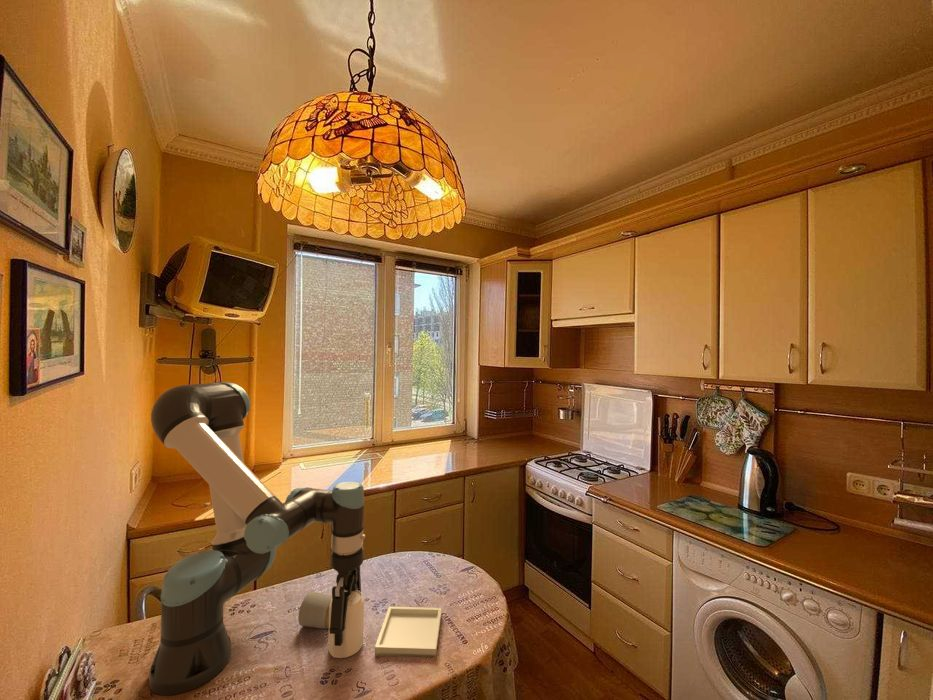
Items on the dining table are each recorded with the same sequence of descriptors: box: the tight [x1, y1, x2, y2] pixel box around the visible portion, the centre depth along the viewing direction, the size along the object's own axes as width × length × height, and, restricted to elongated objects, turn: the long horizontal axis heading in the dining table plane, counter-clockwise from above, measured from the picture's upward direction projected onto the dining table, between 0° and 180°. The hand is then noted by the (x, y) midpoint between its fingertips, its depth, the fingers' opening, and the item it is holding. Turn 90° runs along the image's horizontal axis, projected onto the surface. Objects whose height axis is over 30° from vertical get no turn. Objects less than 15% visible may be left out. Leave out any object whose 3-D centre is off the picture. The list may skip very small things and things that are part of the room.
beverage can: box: [327, 590, 365, 659], centre depth 92 cm, size 8×8×12 cm
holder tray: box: [374, 606, 443, 659], centre depth 97 cm, size 15×15×2 cm
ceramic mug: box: [297, 590, 332, 629], centre depth 102 cm, size 11×8×8 cm
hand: (346, 641), depth 92 cm, fingers closed on beverage can, 8 cm apart
